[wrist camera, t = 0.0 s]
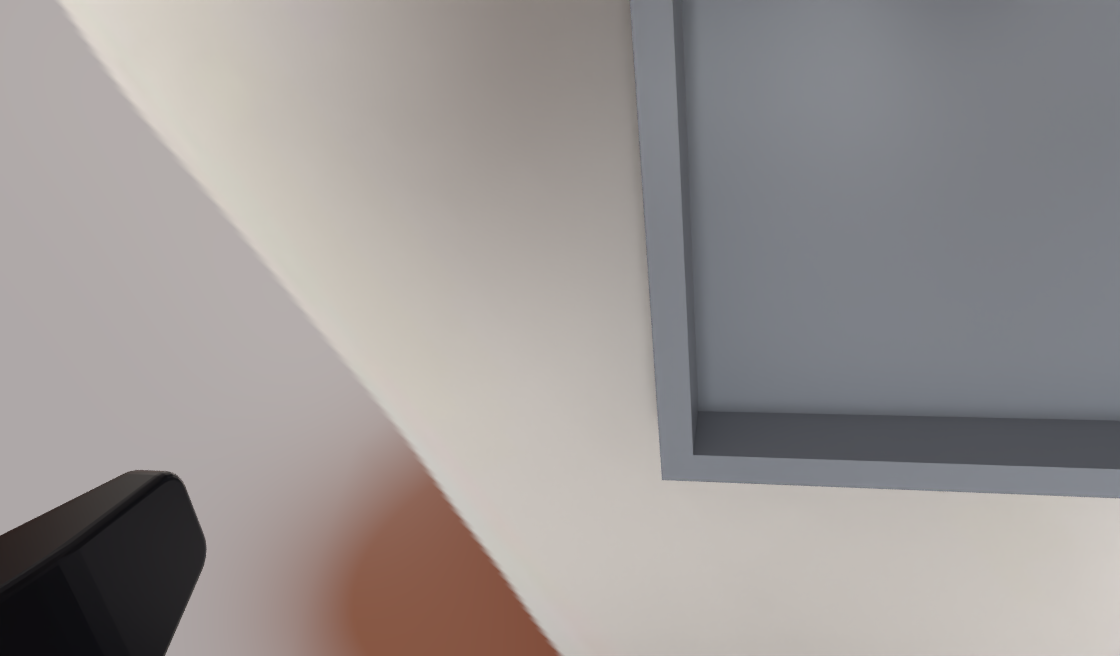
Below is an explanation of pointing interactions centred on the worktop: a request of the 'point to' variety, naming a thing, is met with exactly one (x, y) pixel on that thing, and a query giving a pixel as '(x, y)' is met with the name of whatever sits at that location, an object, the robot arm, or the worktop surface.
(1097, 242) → the grey tray
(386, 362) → the worktop surface
